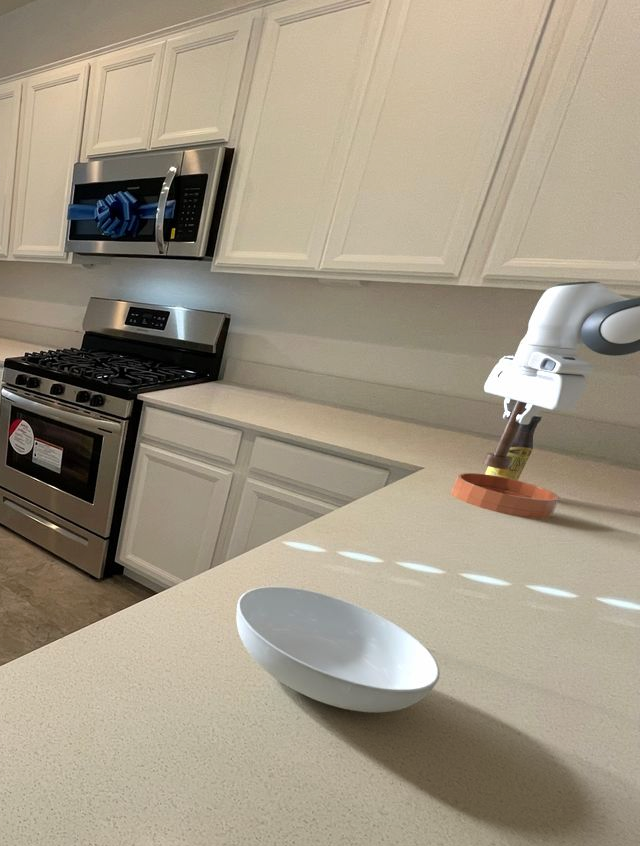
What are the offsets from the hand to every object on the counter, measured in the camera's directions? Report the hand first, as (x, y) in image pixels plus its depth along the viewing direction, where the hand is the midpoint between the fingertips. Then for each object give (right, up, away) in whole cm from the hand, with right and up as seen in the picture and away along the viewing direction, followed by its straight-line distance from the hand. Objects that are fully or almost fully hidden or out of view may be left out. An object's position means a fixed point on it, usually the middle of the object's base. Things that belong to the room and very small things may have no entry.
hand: (515, 421), depth 131 cm
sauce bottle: (+16, -16, +21) cm, 31 cm away
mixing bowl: (+1, -20, +6) cm, 21 cm away
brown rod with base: (-1, -10, +4) cm, 11 cm away
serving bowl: (-83, -38, -56) cm, 107 cm away
